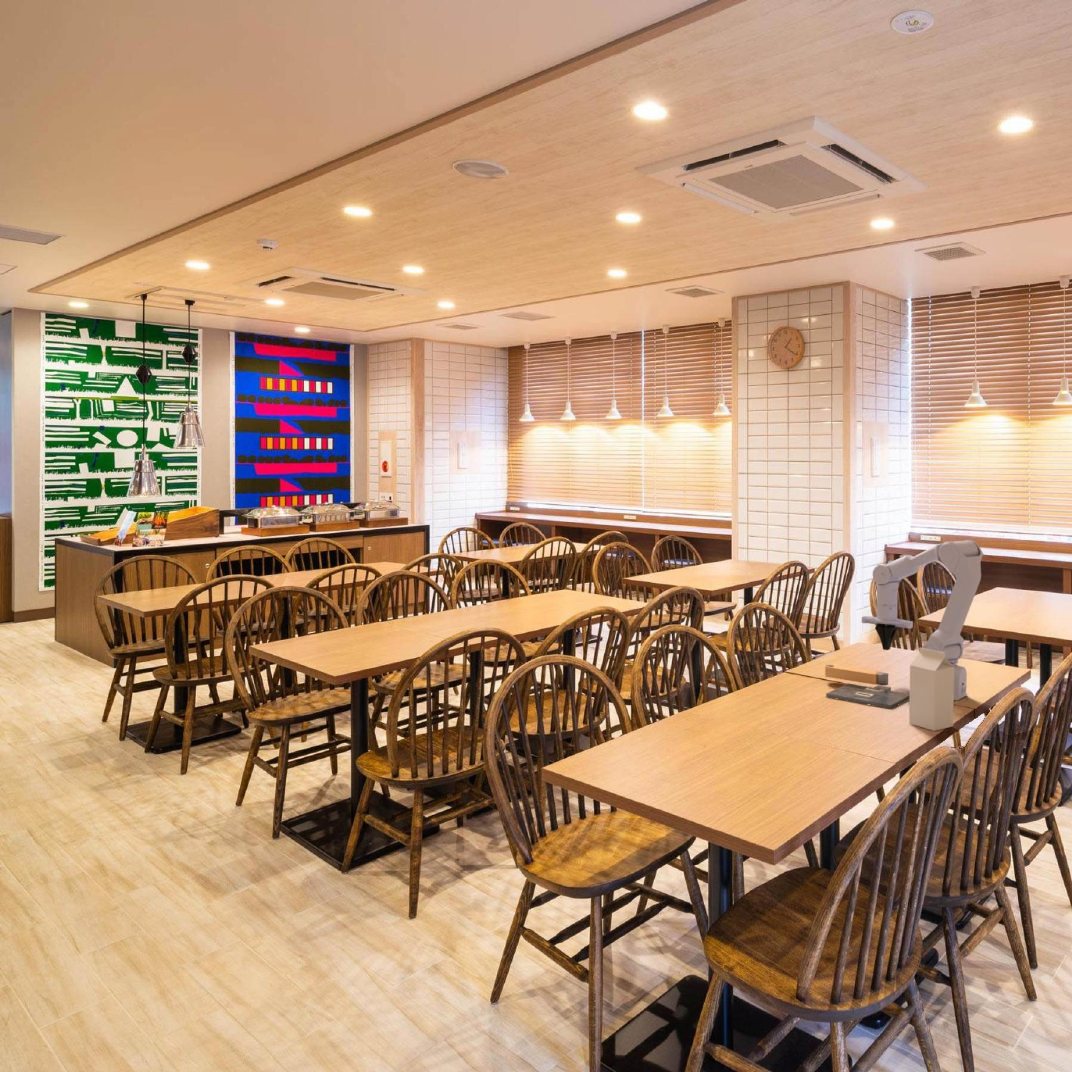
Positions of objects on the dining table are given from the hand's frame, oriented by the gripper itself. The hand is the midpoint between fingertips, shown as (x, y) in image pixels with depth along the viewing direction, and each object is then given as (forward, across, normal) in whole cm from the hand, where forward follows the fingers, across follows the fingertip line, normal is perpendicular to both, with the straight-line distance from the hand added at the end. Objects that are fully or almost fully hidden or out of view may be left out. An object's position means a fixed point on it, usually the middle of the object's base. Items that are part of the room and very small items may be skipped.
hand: (886, 649), depth 248 cm
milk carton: (+10, +26, -36) cm, 45 cm away
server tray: (+9, +4, -20) cm, 22 cm away
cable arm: (+7, -4, -13) cm, 15 cm away
